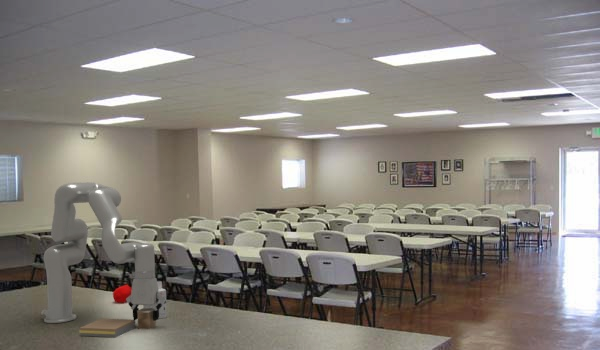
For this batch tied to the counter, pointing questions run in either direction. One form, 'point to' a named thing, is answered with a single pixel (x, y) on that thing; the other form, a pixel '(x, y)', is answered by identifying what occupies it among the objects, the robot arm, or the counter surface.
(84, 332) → the dock
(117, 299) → the red animal figurine
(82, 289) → the counter surface
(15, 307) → the counter surface
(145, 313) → the brown wooden block
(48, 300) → the robot arm
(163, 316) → the ink box
